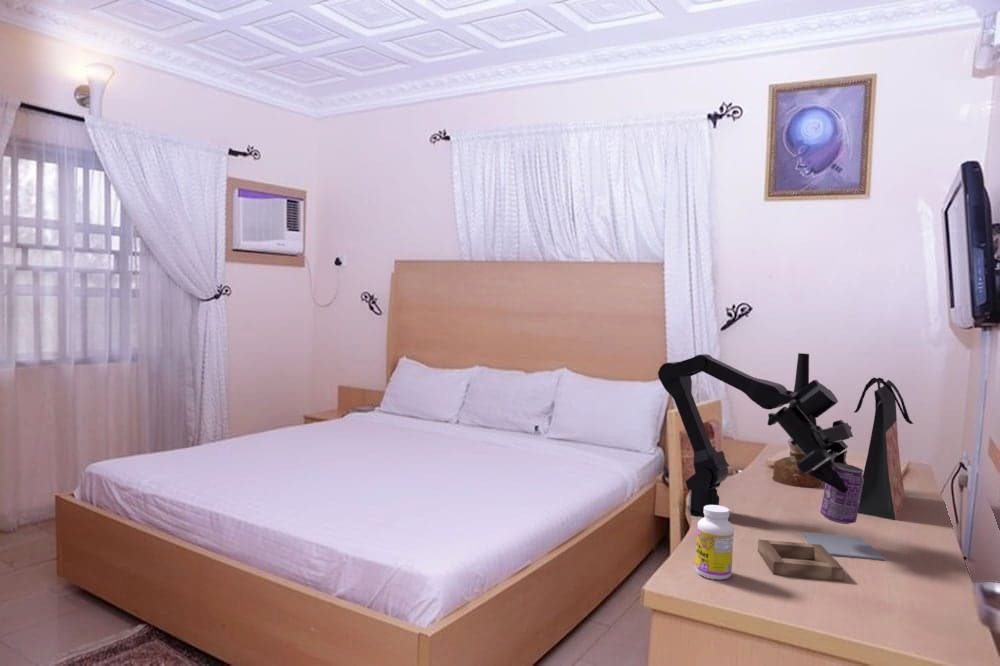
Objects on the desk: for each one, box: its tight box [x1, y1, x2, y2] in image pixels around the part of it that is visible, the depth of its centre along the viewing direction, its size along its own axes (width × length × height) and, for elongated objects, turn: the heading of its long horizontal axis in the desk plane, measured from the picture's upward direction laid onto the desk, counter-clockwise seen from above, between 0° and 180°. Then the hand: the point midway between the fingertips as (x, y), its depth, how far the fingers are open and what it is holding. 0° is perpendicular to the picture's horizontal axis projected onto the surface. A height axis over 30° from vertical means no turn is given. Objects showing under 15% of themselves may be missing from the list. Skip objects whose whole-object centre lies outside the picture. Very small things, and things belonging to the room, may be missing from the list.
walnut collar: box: [757, 538, 844, 582], centre depth 133 cm, size 13×13×2 cm
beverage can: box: [819, 463, 864, 525], centre depth 144 cm, size 7×7×12 cm
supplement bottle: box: [694, 504, 735, 581], centre depth 126 cm, size 7×7×13 cm
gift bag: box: [853, 377, 914, 521], centre depth 177 cm, size 29×14×35 cm, turn 144°
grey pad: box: [800, 531, 886, 561], centre depth 145 cm, size 13×13×1 cm
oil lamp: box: [771, 352, 822, 489], centre depth 204 cm, size 14×15×40 cm
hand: (850, 488), depth 143 cm, fingers closed on beverage can, 7 cm apart
